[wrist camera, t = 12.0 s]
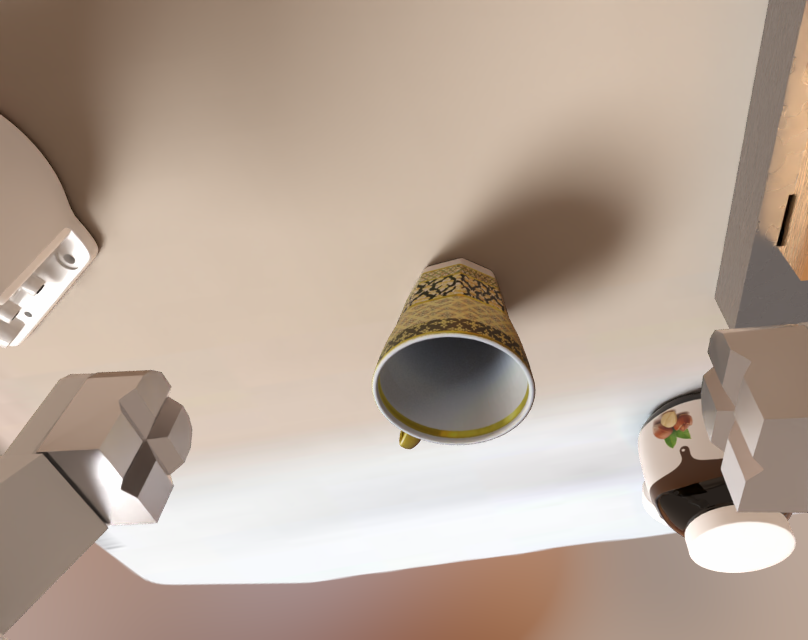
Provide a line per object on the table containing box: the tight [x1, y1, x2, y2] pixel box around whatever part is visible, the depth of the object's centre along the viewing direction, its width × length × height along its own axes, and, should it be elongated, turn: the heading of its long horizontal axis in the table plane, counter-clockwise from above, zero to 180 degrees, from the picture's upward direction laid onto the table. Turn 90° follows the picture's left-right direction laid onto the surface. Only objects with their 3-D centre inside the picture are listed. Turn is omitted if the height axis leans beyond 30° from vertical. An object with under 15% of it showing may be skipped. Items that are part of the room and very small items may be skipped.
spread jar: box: [638, 393, 796, 573], centre depth 48 cm, size 12×11×12 cm
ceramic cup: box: [372, 258, 535, 449], centre depth 42 cm, size 13×10×10 cm
